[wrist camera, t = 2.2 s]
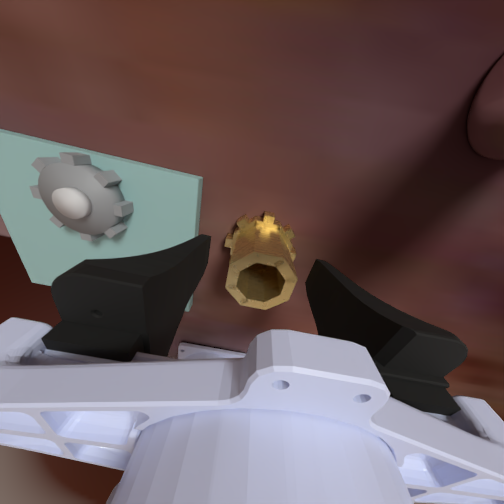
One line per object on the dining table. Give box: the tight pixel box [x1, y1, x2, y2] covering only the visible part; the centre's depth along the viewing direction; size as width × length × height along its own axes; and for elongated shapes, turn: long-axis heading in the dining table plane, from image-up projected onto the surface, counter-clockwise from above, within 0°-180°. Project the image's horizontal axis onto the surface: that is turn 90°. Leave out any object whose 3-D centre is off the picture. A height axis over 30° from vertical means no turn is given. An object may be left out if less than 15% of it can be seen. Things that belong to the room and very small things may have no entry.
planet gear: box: [225, 211, 298, 310], centre depth 12 cm, size 5×5×5 cm
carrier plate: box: [0, 129, 203, 312], centre depth 13 cm, size 12×14×4 cm
